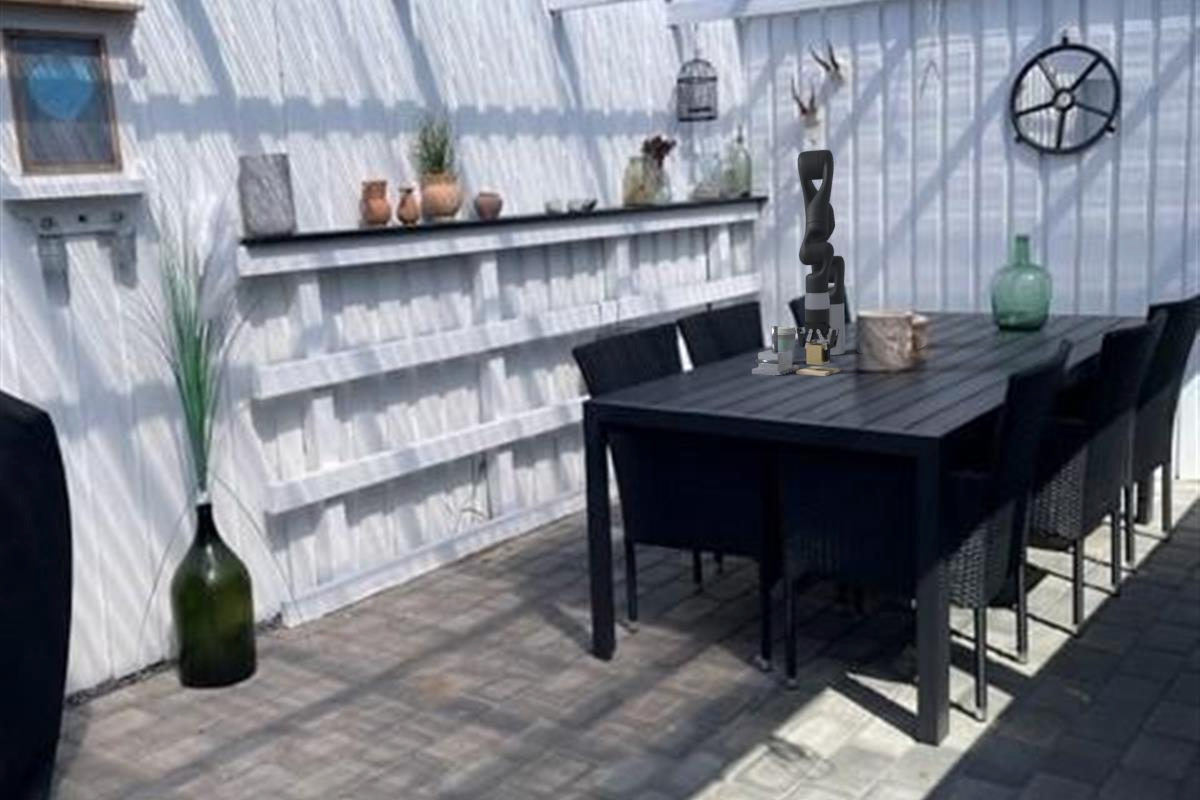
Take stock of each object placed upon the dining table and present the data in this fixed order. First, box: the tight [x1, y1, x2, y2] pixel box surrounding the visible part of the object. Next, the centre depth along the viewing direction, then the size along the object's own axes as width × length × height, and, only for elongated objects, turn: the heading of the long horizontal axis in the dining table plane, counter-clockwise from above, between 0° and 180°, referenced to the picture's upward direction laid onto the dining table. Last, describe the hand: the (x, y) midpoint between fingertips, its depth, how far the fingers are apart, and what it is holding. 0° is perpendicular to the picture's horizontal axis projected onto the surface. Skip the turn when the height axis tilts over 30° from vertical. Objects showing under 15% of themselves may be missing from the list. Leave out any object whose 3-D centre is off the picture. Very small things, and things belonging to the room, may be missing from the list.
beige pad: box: [795, 365, 841, 377], centre depth 401 cm, size 10×10×1 cm
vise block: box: [751, 325, 800, 376], centre depth 405 cm, size 12×10×14 cm
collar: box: [805, 342, 830, 366], centre depth 400 cm, size 5×5×6 cm
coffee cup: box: [770, 325, 797, 364], centre depth 421 cm, size 9×8×12 cm
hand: (818, 360), depth 401 cm, fingers closed on collar, 5 cm apart
